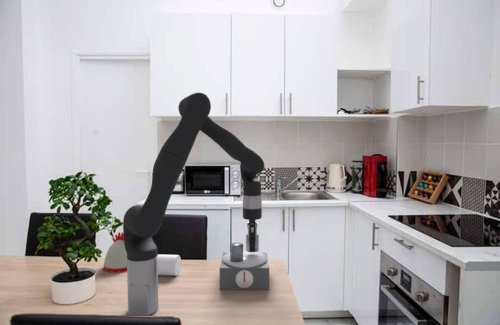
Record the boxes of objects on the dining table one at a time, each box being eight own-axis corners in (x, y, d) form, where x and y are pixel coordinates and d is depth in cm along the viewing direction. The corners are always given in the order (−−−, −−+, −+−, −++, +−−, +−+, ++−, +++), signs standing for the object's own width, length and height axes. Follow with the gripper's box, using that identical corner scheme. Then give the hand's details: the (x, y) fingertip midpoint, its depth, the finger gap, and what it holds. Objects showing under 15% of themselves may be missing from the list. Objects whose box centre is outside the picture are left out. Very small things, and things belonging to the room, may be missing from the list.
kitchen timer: (126, 273, 134) (125, 237, 133) (96, 271, 136) (96, 235, 136) (144, 262, 147) (143, 229, 147) (116, 259, 150) (116, 227, 149)
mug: (175, 278, 128) (174, 258, 128) (150, 278, 129) (150, 258, 129) (184, 267, 140) (183, 249, 140) (161, 266, 141) (161, 248, 141)
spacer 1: (243, 262, 121) (243, 246, 121) (229, 262, 121) (229, 246, 121) (243, 257, 126) (243, 242, 126) (230, 257, 126) (230, 242, 126)
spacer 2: (258, 252, 127) (258, 237, 127) (246, 252, 127) (245, 237, 127) (258, 248, 132) (258, 233, 132) (246, 248, 132) (246, 233, 132)
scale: (269, 290, 118) (269, 266, 117) (219, 290, 118) (219, 266, 117) (266, 271, 135) (266, 250, 135) (223, 271, 135) (223, 250, 135)
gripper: (262, 209, 121) (262, 254, 122) (261, 203, 136) (261, 243, 137) (242, 209, 121) (242, 254, 122) (243, 203, 136) (243, 243, 137)
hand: (252, 248), depth 129 cm, fingers closed on spacer 2, 5 cm apart
